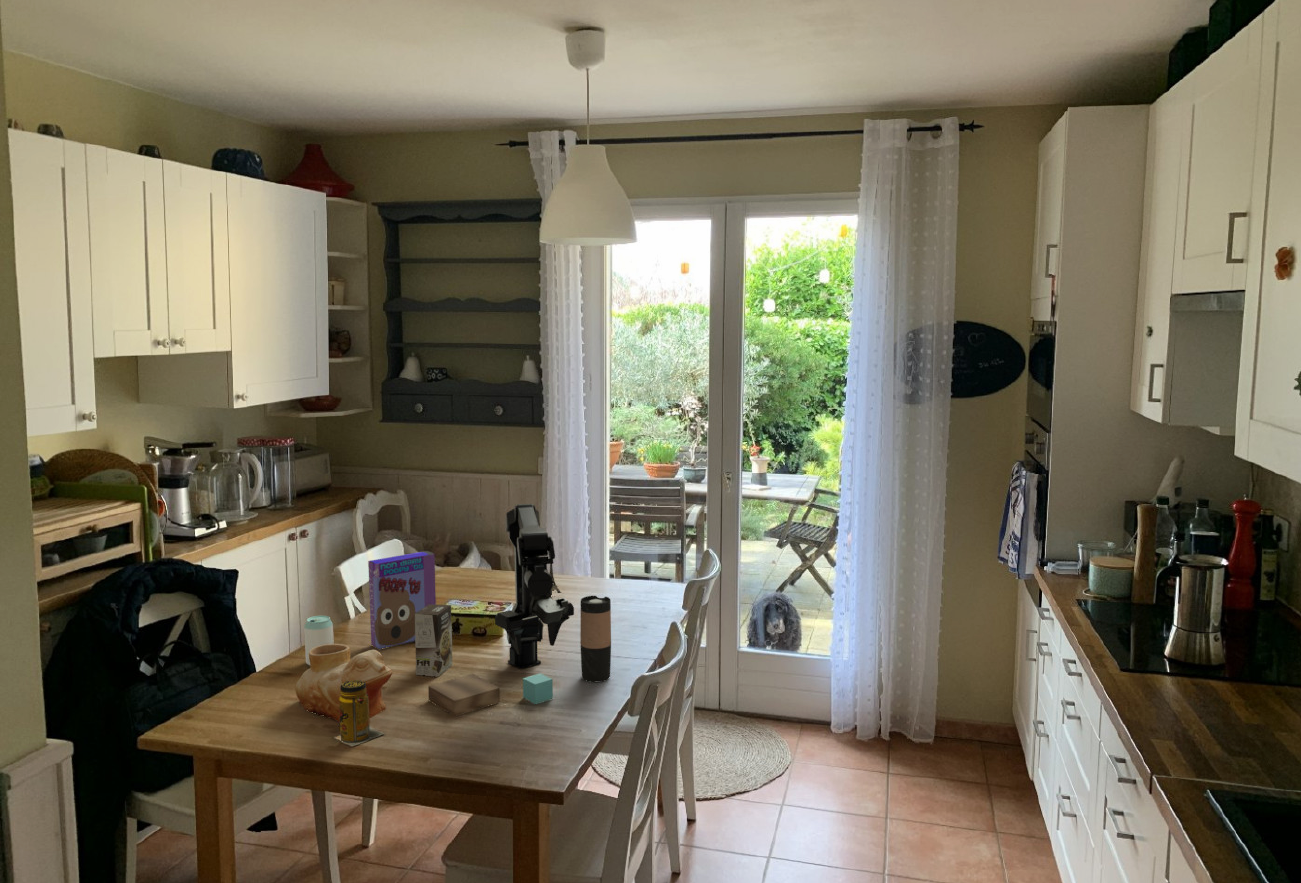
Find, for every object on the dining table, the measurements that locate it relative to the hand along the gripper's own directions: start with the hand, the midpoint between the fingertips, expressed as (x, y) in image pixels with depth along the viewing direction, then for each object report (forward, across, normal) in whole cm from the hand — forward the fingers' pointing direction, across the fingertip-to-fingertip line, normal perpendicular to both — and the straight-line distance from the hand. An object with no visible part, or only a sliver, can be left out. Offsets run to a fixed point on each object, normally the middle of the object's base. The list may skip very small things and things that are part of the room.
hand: (535, 649), depth 231 cm
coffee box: (+12, -9, +33) cm, 36 cm away
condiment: (+12, -41, +7) cm, 43 cm away
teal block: (+12, 0, 0) cm, 12 cm away
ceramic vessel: (+12, -37, +23) cm, 45 cm away
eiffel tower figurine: (+12, +53, +71) cm, 90 cm away
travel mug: (+12, +19, +2) cm, 23 cm away
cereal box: (+12, -5, +59) cm, 60 cm away
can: (+12, -30, +56) cm, 65 cm away
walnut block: (+12, -14, +10) cm, 21 cm away
